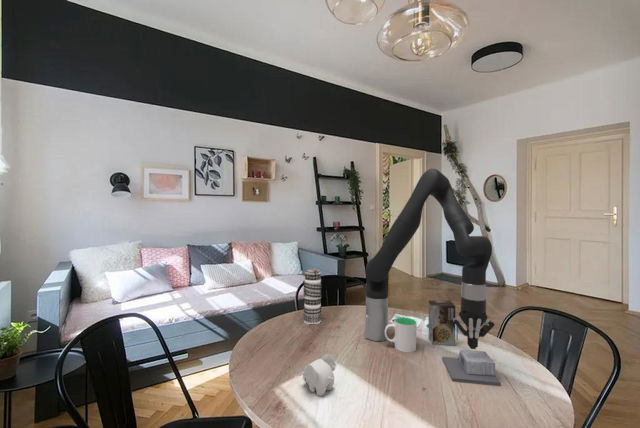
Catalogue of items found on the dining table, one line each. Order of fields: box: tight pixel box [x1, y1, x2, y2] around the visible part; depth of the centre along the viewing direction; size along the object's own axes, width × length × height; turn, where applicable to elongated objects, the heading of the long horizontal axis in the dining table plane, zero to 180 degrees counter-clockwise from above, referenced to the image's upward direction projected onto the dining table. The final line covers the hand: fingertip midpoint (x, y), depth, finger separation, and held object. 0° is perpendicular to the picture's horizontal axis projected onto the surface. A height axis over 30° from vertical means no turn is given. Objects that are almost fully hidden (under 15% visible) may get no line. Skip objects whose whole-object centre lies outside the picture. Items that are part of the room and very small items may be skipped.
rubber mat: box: [441, 356, 502, 387], centre depth 100 cm, size 14×14×1 cm
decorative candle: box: [302, 267, 323, 325], centre depth 144 cm, size 9×9×25 cm
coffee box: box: [427, 300, 456, 346], centre depth 123 cm, size 9×6×16 cm
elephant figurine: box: [298, 353, 337, 397], centre depth 91 cm, size 10×12×9 cm
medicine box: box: [458, 349, 496, 376], centre depth 100 cm, size 8×4×9 cm
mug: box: [385, 316, 417, 353], centre depth 118 cm, size 12×8×10 cm, turn 86°
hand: (472, 348), depth 100 cm, fingers closed
